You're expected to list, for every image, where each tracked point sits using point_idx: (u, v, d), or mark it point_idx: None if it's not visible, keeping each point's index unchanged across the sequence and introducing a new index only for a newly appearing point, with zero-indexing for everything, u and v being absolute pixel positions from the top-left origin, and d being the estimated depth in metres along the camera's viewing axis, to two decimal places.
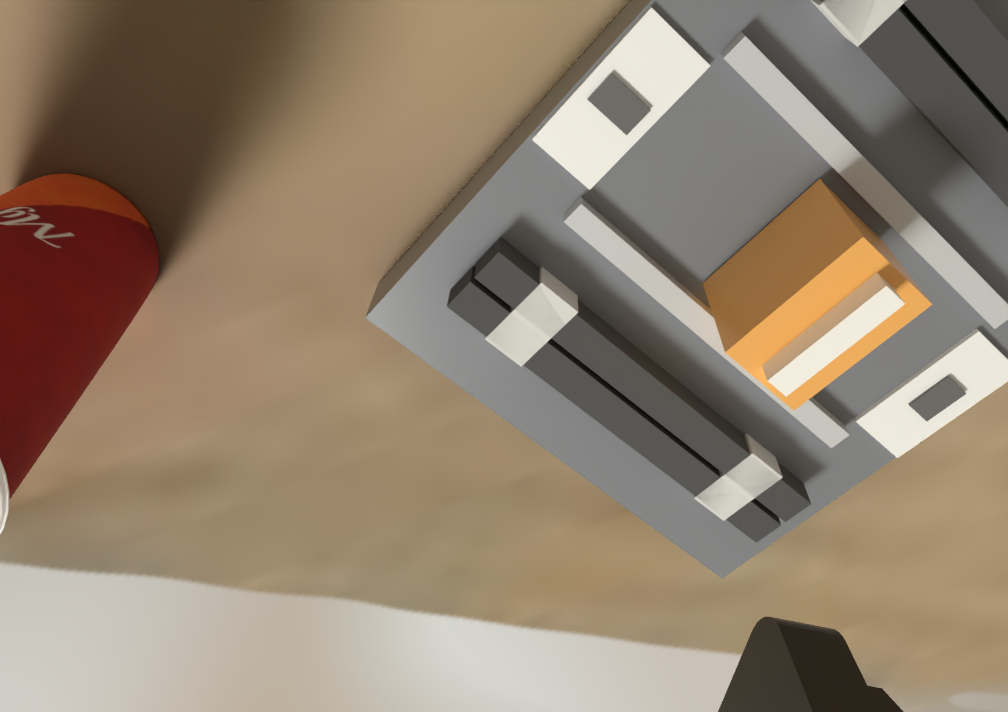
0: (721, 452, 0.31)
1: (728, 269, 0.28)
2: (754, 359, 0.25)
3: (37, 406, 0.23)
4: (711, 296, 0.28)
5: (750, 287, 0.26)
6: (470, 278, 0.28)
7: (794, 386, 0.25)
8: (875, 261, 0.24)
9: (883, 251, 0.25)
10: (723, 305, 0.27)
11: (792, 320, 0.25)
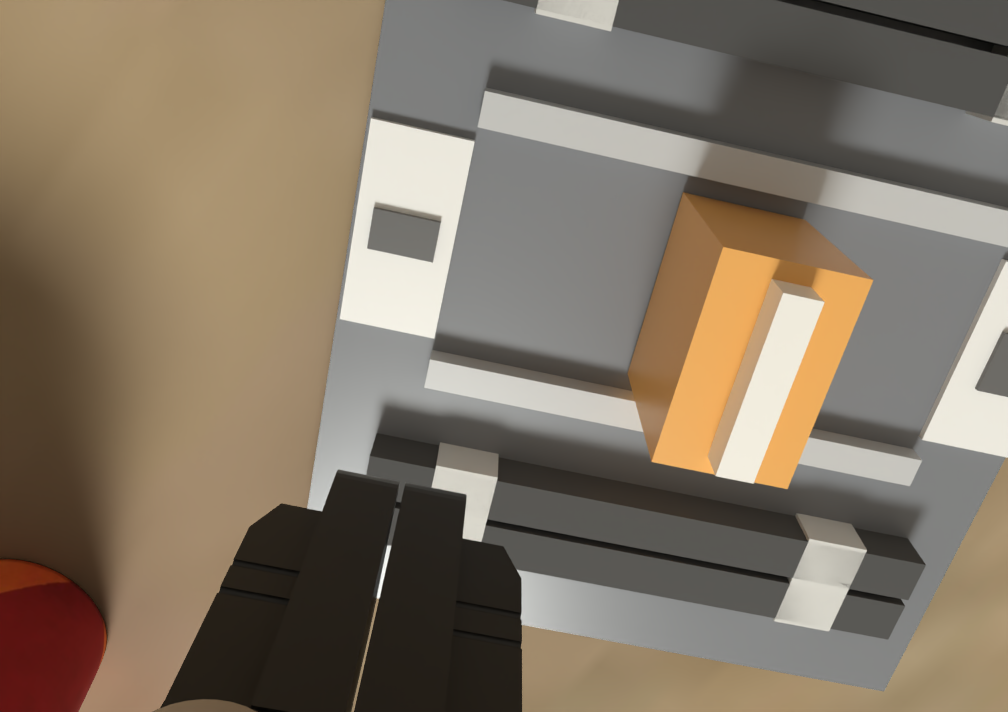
0: (770, 554, 0.23)
1: (641, 345, 0.22)
2: (693, 452, 0.18)
3: None
4: (634, 388, 0.21)
5: (656, 361, 0.20)
6: None
7: (755, 466, 0.18)
8: (759, 266, 0.17)
9: (781, 244, 0.18)
10: (643, 396, 0.20)
11: (707, 386, 0.18)
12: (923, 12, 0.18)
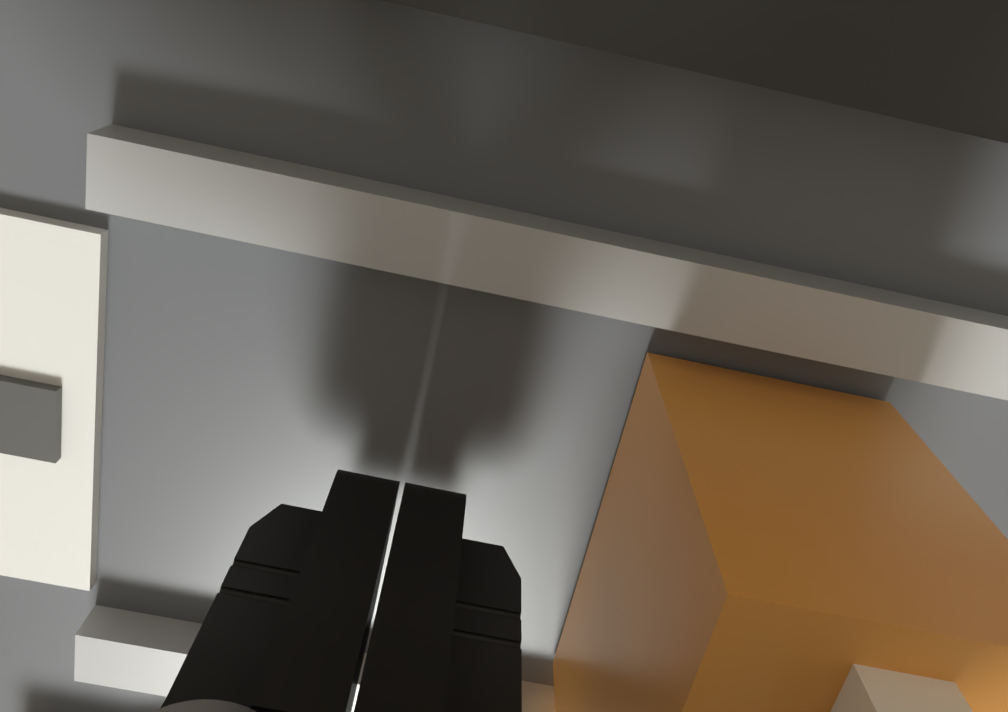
0: None
1: (572, 630, 0.11)
2: None
3: None
4: None
5: None
6: None
7: None
8: (823, 636, 0.06)
9: (864, 528, 0.08)
10: None
11: None
12: None
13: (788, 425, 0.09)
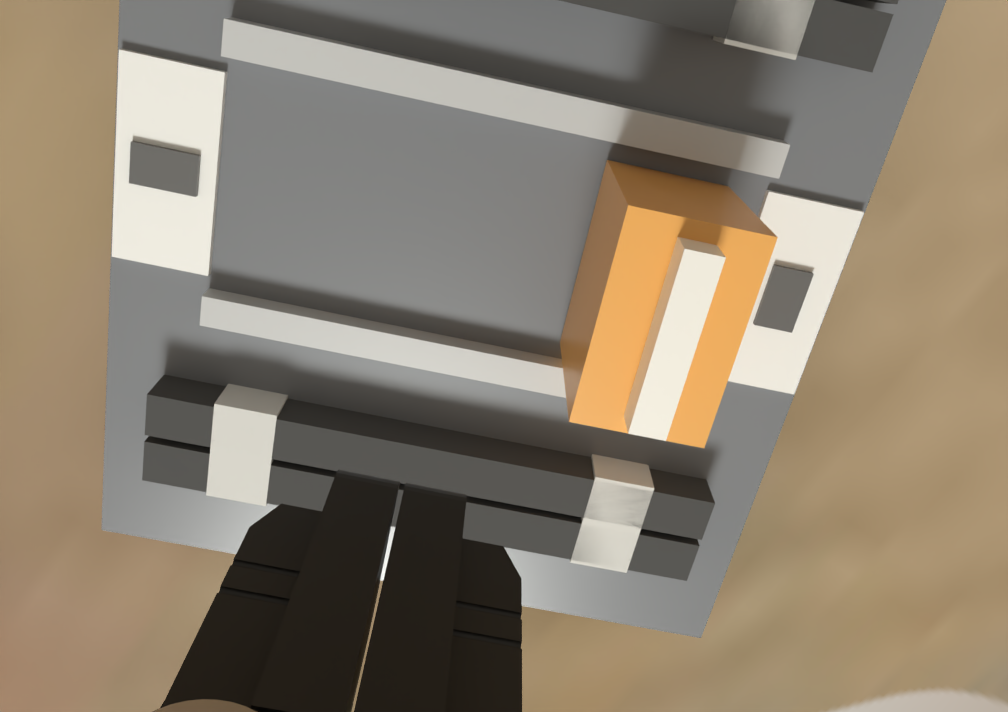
0: (558, 493, 0.23)
1: (570, 313, 0.22)
2: (609, 412, 0.19)
3: None
4: (563, 354, 0.22)
5: (579, 325, 0.20)
6: (149, 437, 0.23)
7: (666, 423, 0.18)
8: (665, 225, 0.17)
9: (692, 205, 0.18)
10: (568, 360, 0.21)
11: (619, 345, 0.18)
12: None
13: (670, 183, 0.20)
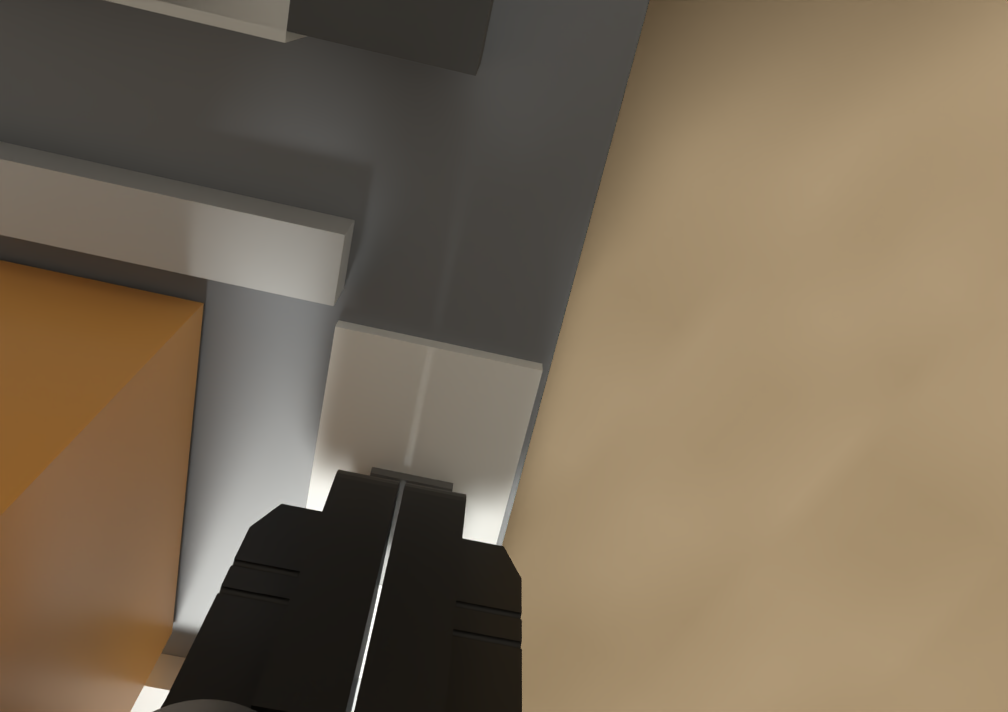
0: None
1: None
2: None
3: None
4: None
5: None
6: None
7: None
8: None
9: None
10: None
11: None
12: None
13: None
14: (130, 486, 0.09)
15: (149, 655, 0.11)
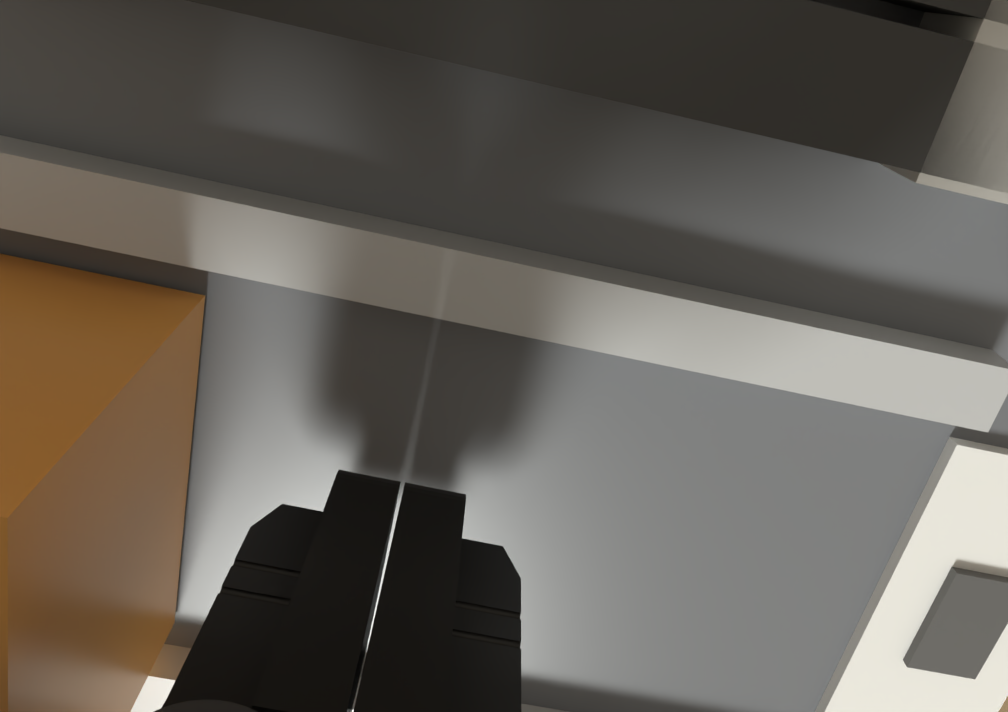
0: None
1: None
2: None
3: None
4: None
5: None
6: None
7: None
8: None
9: None
10: None
11: None
12: None
13: None
14: (137, 477, 0.09)
15: (153, 645, 0.11)
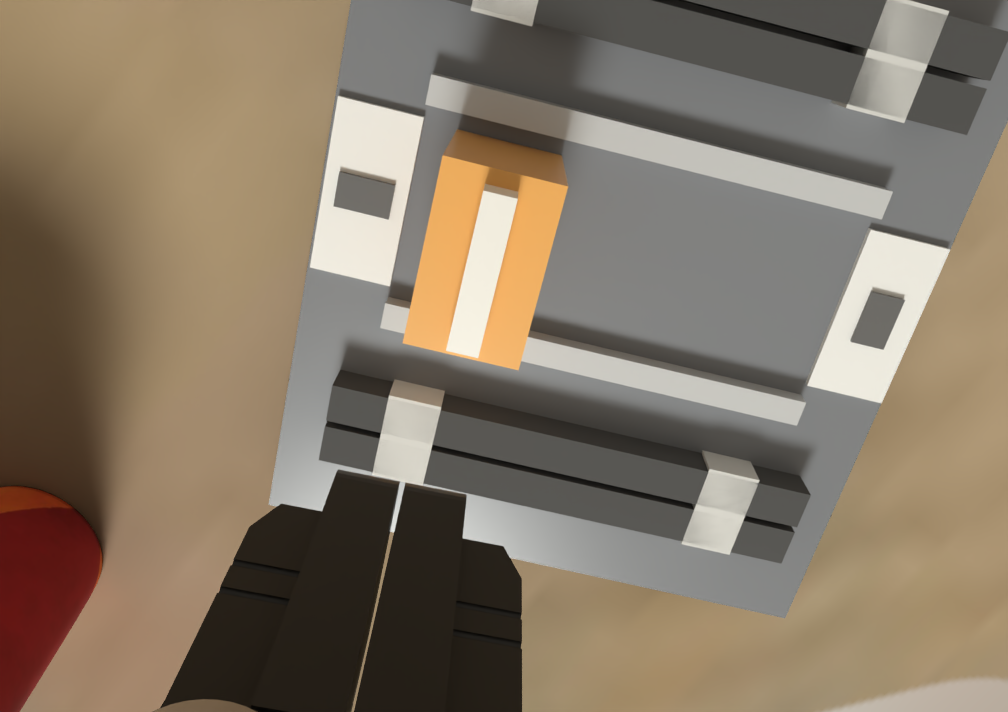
0: (676, 482, 0.27)
1: None
2: (436, 335, 0.22)
3: None
4: None
5: None
6: (327, 422, 0.27)
7: (477, 342, 0.21)
8: (474, 173, 0.21)
9: (507, 161, 0.22)
10: None
11: (441, 276, 0.21)
12: (785, 16, 0.22)
13: (503, 148, 0.23)
14: None
15: None
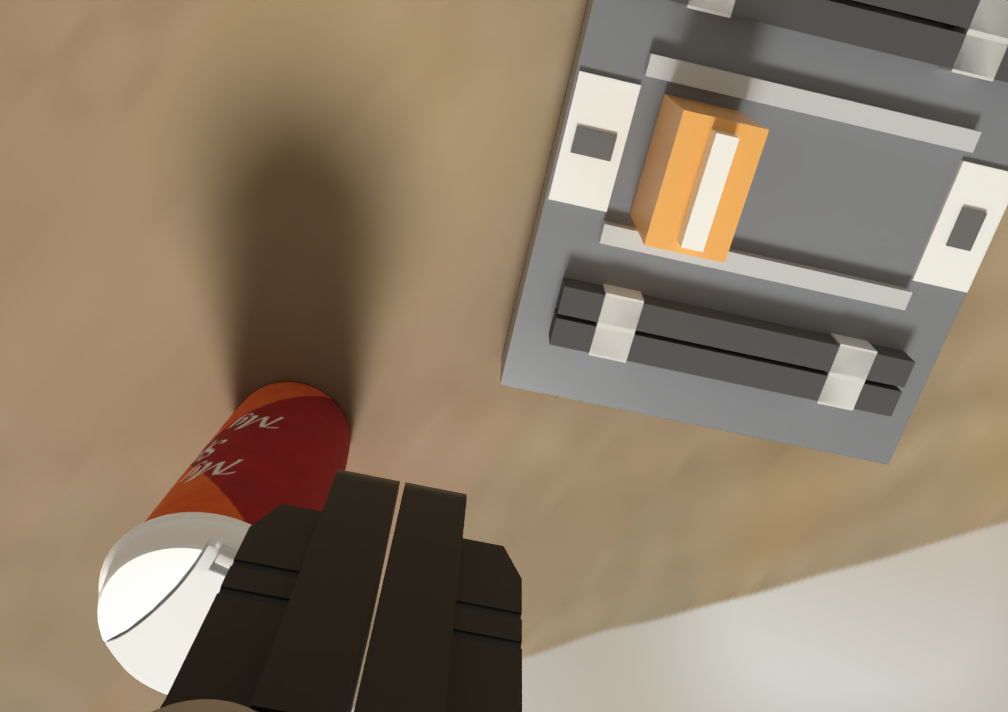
0: (815, 355, 0.37)
1: (638, 192, 0.35)
2: (668, 238, 0.31)
3: None
4: (634, 217, 0.34)
5: (647, 193, 0.33)
6: (556, 316, 0.36)
7: (703, 240, 0.31)
8: (704, 121, 0.30)
9: (719, 114, 0.31)
10: (639, 217, 0.33)
11: (676, 196, 0.31)
12: (911, 7, 0.31)
13: (704, 106, 0.33)
14: None
15: None
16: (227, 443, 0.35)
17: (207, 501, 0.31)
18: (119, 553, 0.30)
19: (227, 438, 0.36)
